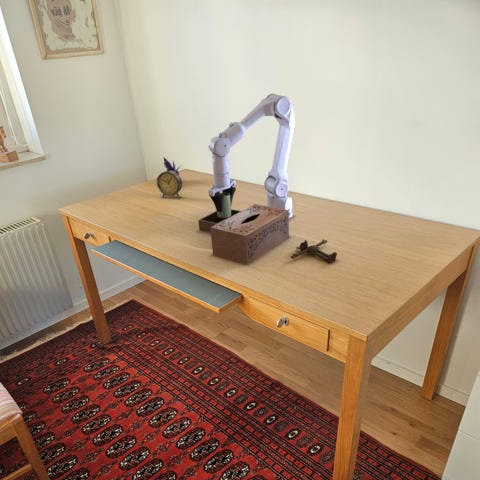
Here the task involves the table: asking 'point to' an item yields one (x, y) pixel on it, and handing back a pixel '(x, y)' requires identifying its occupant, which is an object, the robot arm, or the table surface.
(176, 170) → the creature
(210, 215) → the basket
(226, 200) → the pen cup
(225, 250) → the tissue box cover
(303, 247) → the brown figurine
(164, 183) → the alarm clock
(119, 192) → the table surface
